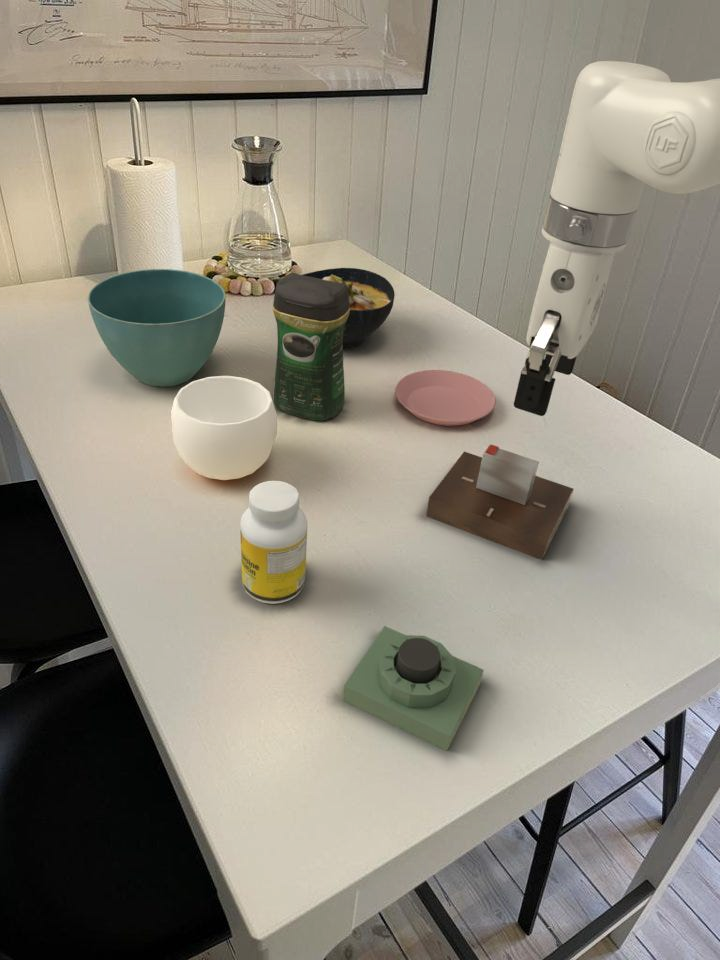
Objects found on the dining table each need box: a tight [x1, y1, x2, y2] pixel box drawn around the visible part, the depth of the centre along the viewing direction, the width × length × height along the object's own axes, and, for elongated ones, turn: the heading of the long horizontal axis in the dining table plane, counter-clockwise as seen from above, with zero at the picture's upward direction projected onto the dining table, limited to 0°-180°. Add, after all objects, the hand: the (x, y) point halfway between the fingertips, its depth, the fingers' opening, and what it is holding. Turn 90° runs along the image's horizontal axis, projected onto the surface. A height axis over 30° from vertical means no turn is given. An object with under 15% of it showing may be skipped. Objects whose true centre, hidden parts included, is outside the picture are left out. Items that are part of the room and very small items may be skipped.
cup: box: [170, 375, 278, 481], centre depth 90 cm, size 12×12×10 cm
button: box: [397, 638, 440, 683], centre depth 65 cm, size 4×4×2 cm
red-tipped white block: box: [476, 444, 540, 505], centre depth 86 cm, size 6×2×5 cm, turn 62°
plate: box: [394, 369, 496, 427], centre depth 108 cm, size 14×14×2 cm
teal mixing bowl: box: [87, 268, 227, 388], centre depth 106 cm, size 18×18×12 cm
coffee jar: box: [272, 271, 350, 422], centre depth 100 cm, size 10×8×19 cm
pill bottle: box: [239, 480, 308, 605], centre depth 74 cm, size 6×6×12 cm
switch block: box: [342, 625, 484, 752], centre depth 66 cm, size 10×8×4 cm
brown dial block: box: [425, 451, 574, 561], centre depth 88 cm, size 14×11×3 cm
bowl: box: [302, 267, 396, 350], centre depth 120 cm, size 17×17×10 cm
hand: (543, 389), depth 77 cm, fingers open, 9 cm apart
